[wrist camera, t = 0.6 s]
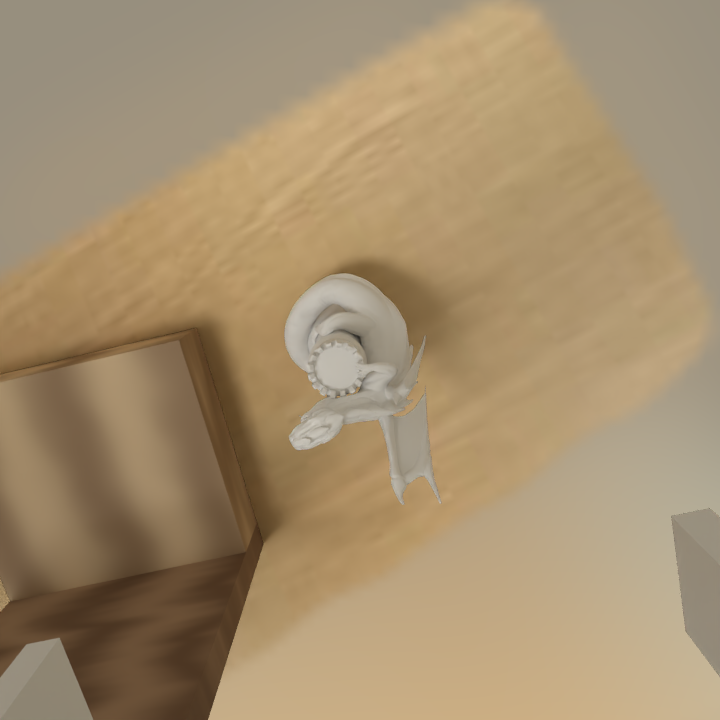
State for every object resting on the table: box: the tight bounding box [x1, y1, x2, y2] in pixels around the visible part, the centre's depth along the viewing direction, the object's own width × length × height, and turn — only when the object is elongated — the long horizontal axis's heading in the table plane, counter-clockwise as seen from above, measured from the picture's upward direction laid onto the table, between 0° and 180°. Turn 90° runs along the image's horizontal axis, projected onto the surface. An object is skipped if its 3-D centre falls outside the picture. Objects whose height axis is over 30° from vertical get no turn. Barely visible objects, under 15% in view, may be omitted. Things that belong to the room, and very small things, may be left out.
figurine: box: [284, 273, 441, 505], centre depth 31 cm, size 11×8×12 cm
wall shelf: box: [0, 328, 263, 720], centre depth 31 cm, size 15×15×16 cm
